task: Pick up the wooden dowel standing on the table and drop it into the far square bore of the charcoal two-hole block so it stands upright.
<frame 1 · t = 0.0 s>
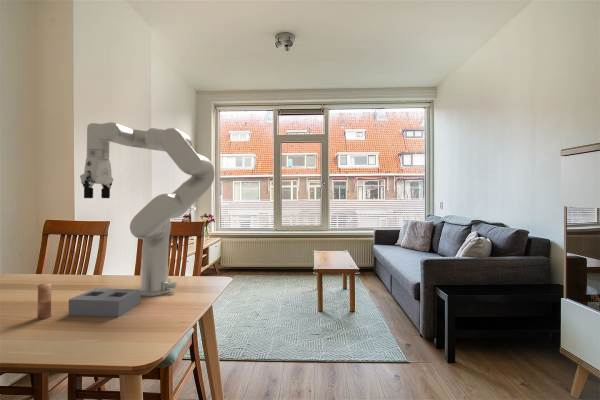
hand: (97, 198, 121), 37 cm above the table, tool pointing down, fingers open, 9 cm apart
bore block: (106, 309, 101), on the table
dowel: (44, 317, 93), on the table
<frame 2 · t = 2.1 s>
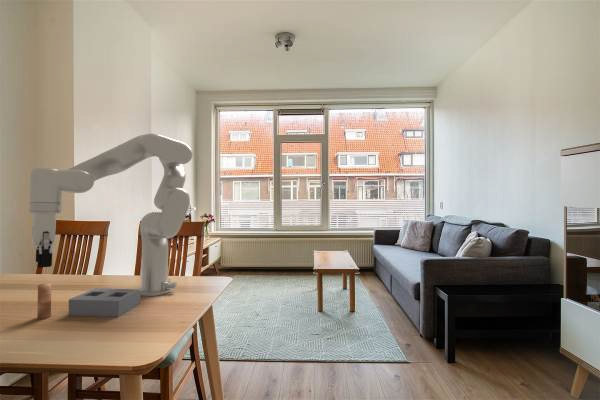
hand: (43, 264, 93), 16 cm above the table, tool pointing down, fingers open, 9 cm apart
nothing on the table moved.
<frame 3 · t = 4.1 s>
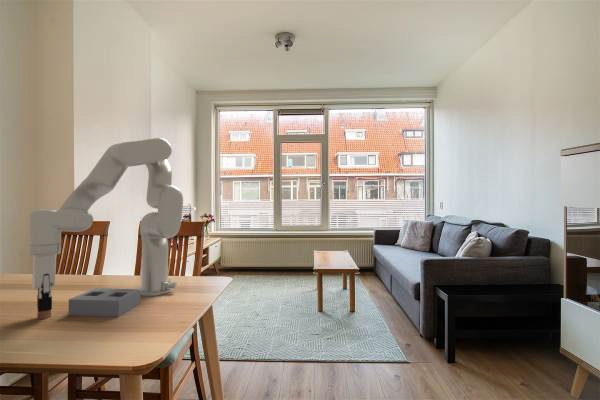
hand: (44, 308, 93), 3 cm above the table, tool pointing down, fingers closed on dowel, 3 cm apart
dowel: (44, 317, 93), on the table, touching gripper
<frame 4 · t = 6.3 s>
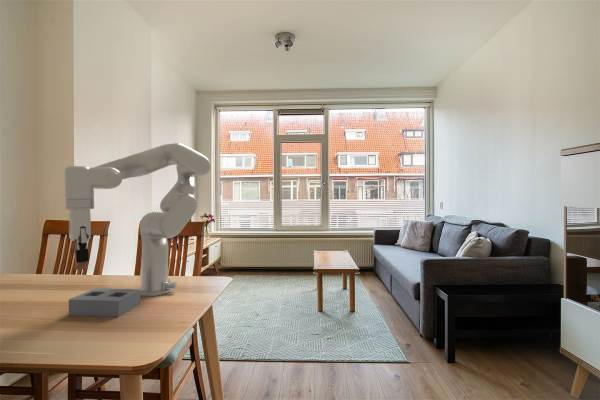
hand: (81, 260, 99), 17 cm above the table, tool pointing down, fingers closed on dowel, 3 cm apart
dowel: (81, 268, 99), point 14 cm above the table, touching gripper
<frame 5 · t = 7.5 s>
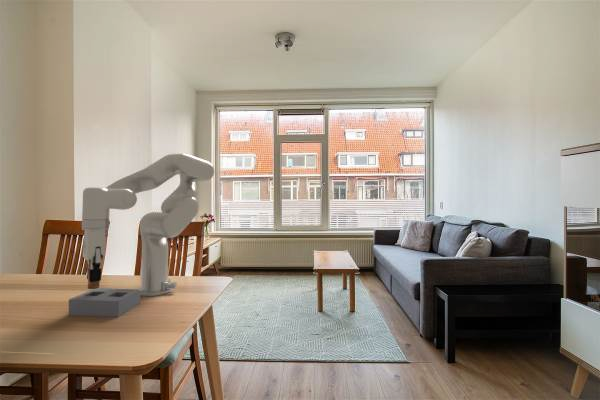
hand: (93, 279, 101), 10 cm above the table, tool pointing down, fingers closed on dowel, 3 cm apart
dowel: (93, 287, 100), point 7 cm above the table, touching gripper
when the fingers open (6 cm above the table, at t = 8.6 s): dowel drops 1 cm, resting on bore block.
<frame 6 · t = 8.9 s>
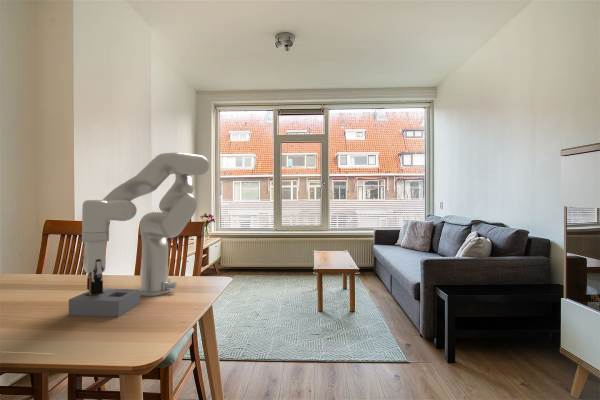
hand: (94, 290, 101), 6 cm above the table, tool pointing down, fingers open, 5 cm apart
dowel: (94, 304, 101), point 2 cm above the table, touching bore block
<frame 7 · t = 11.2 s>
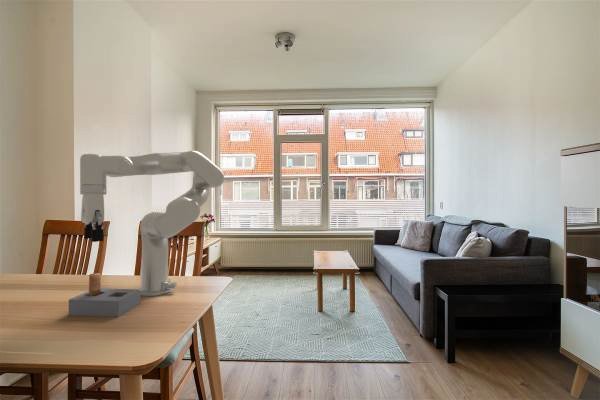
hand: (93, 239, 105), 22 cm above the table, tool pointing down, fingers open, 9 cm apart
nothing on the table moved.
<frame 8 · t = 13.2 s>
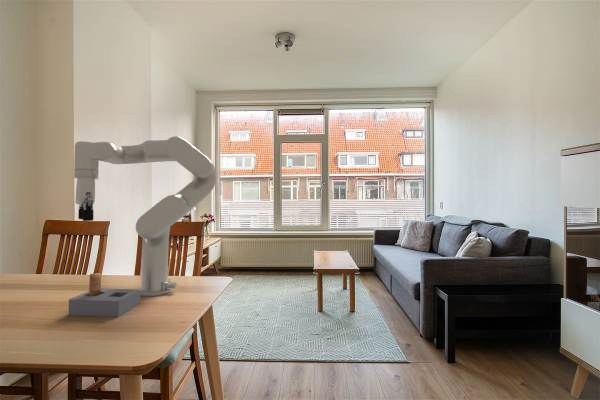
hand: (85, 219, 115), 28 cm above the table, tool pointing down, fingers open, 9 cm apart
nothing on the table moved.
at the end: dowel 0.0 cm from the target spot on the bore block, point 1.5 cm above the bore block's base; dowel tilted 1°; the gripper is holding nothing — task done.
